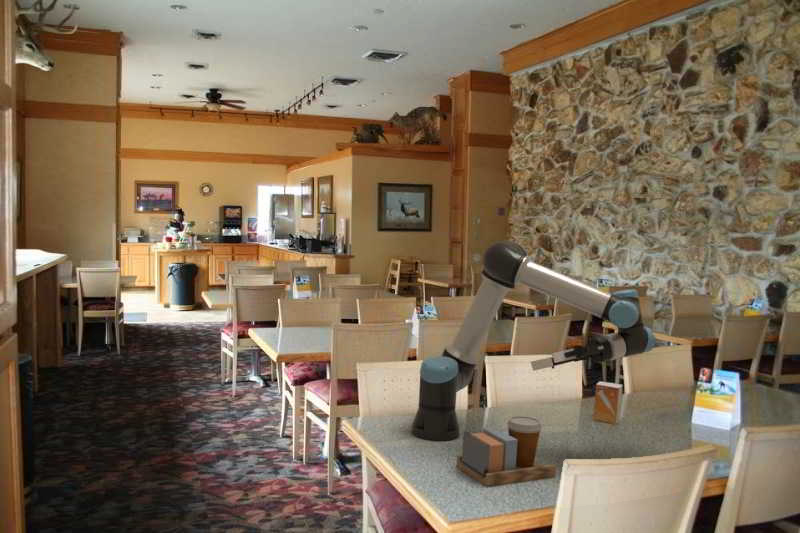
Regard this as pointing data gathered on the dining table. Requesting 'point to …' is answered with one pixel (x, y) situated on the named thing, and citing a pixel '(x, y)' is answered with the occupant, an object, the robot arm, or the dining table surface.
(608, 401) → the small box
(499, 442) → the books
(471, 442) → the bookend
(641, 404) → the dining table surface
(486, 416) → the dining table surface
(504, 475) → the wooden serving tray
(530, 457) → the disposable coffee cup
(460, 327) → the robot arm
